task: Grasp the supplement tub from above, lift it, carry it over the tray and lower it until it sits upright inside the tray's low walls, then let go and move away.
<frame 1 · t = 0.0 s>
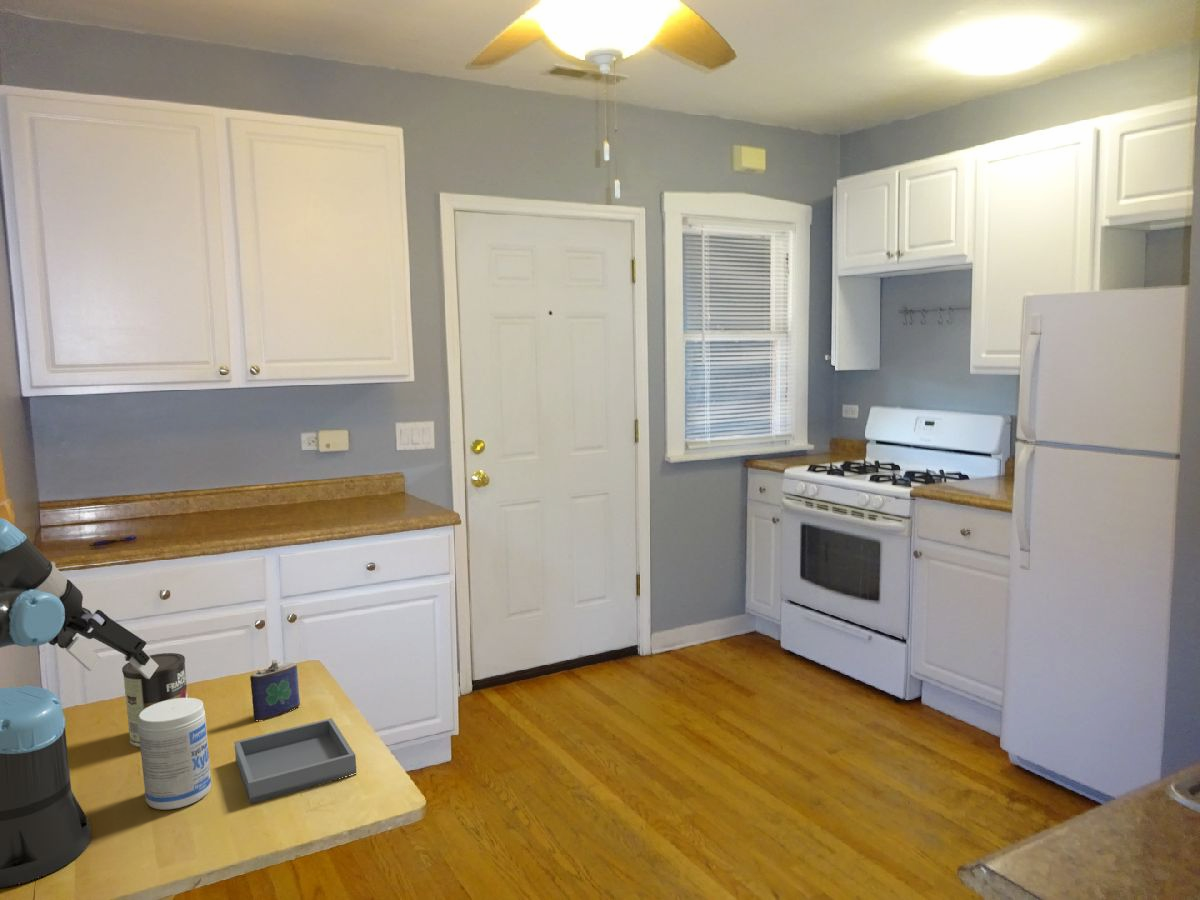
hand: (123, 668, 148), 15 cm above the table, tool tilted 35°, fingers open, 13 cm apart
coffee can: (160, 735, 156), on the table
tray: (295, 767, 142), on the table
flask: (277, 714, 164), on the table
supplement tub: (179, 797, 134), on the table
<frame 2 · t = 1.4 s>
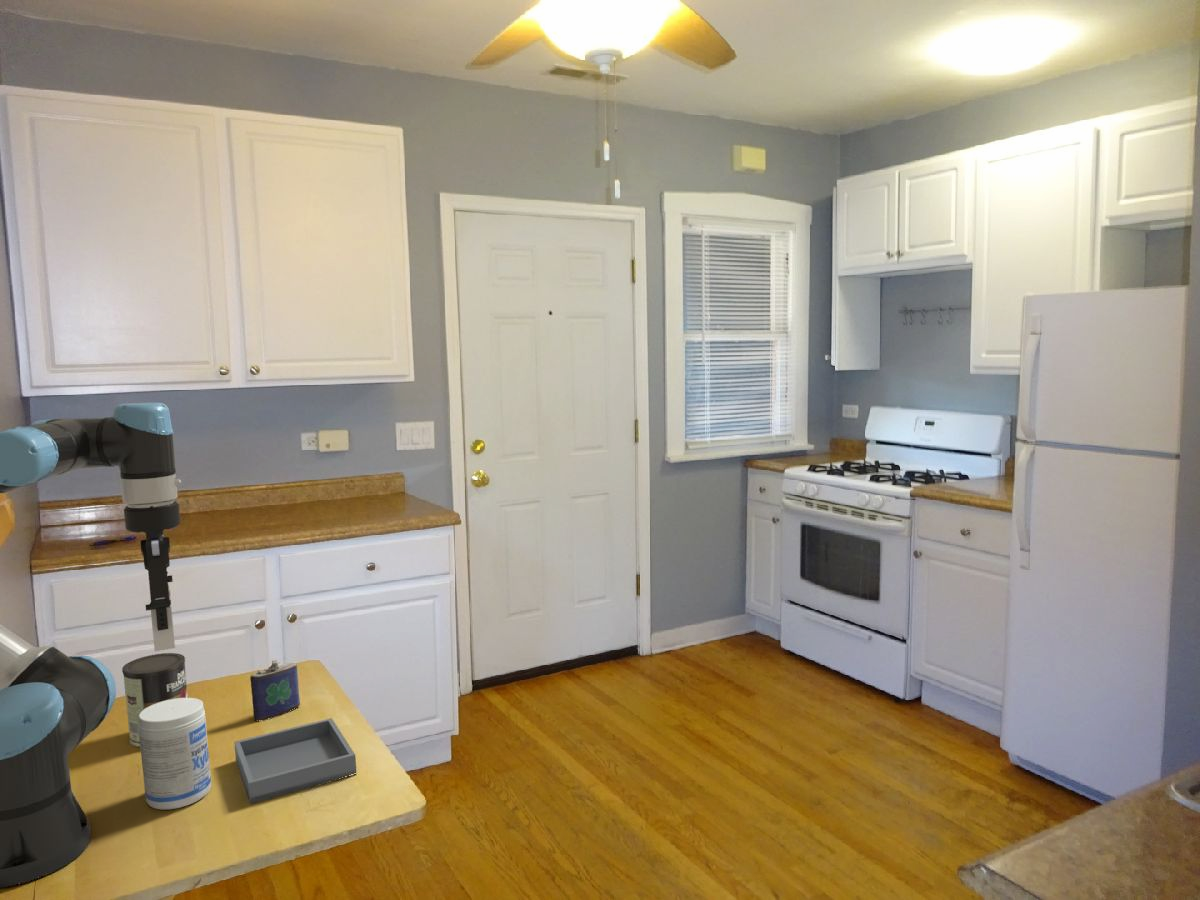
hand: (164, 636, 131), 27 cm above the table, tool pointing down, fingers open, 13 cm apart
nothing on the table moved.
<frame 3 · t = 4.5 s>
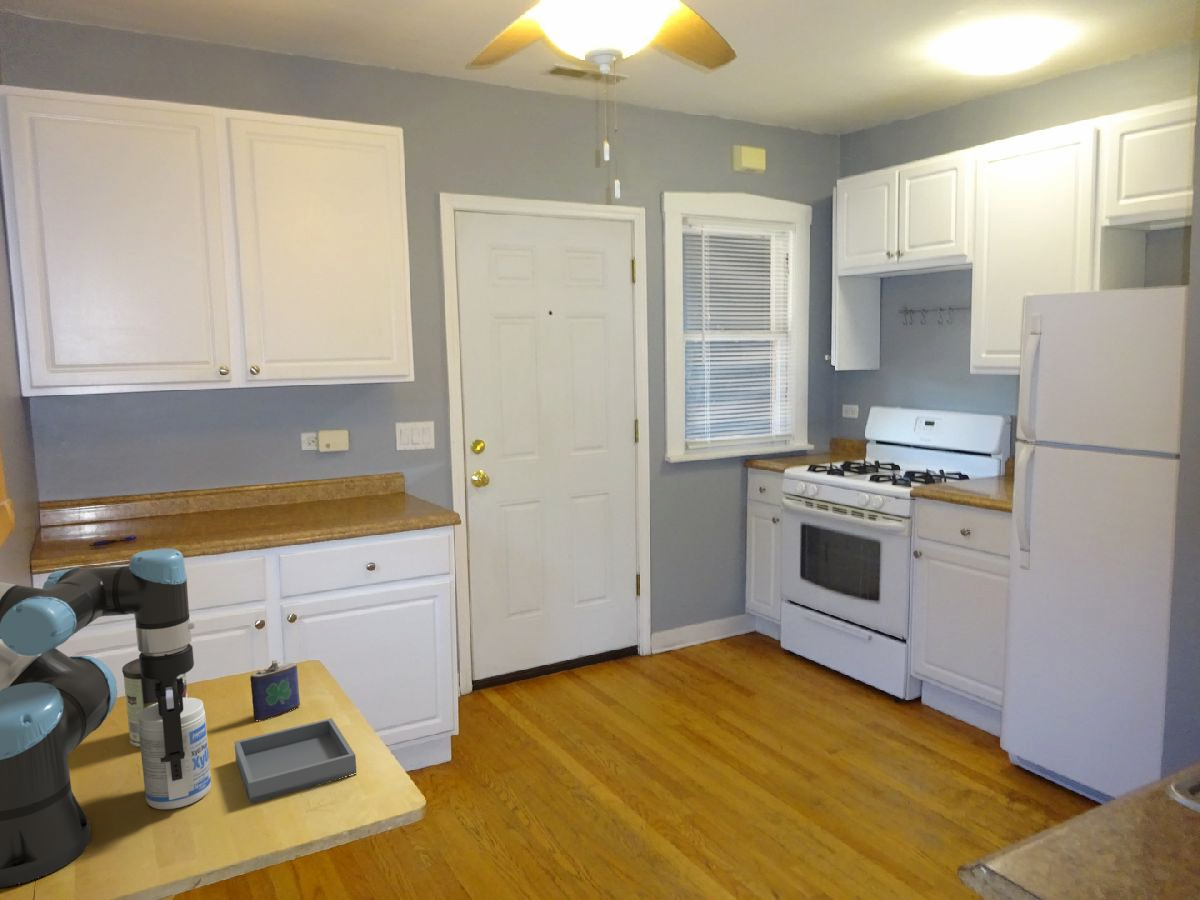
hand: (178, 781, 134), 2 cm above the table, tool pointing down, fingers closed on supplement tub, 10 cm apart
supplement tub: (179, 796, 134), on the table, touching gripper
everything else where it was.
when the fingers open (5 cm above the table, at t = 10.9 s): supplement tub drops 1 cm, resting on tray.
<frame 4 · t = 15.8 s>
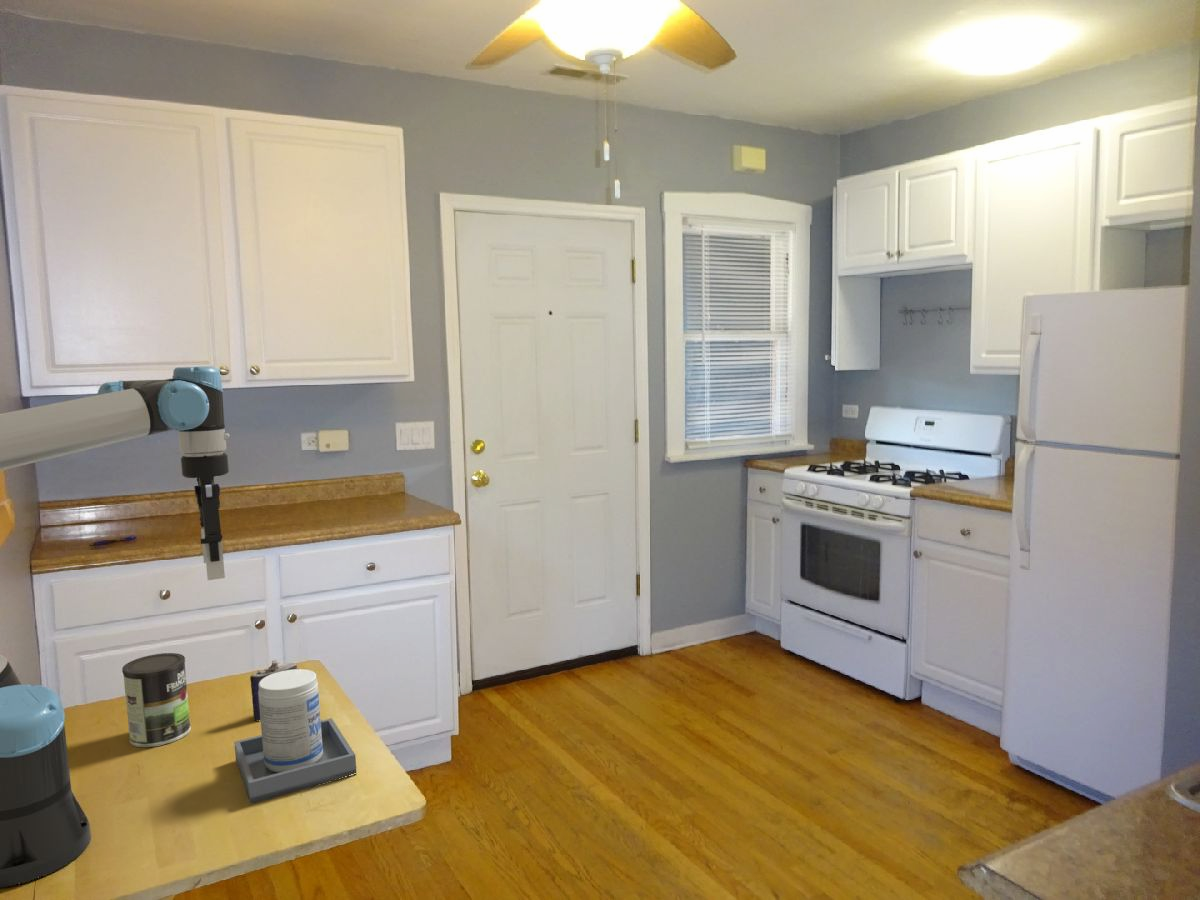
hand: (213, 570, 151), 32 cm above the table, tool pointing down, fingers open, 13 cm apart
supplement tub: (294, 762, 142), point 1 cm above the table, touching tray
everything else where it was.
at the end: supplement tub 0.4 cm off-centre on the tray, point 0.8 cm above the tray's base; supplement tub tilted 0°; the gripper is holding nothing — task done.
